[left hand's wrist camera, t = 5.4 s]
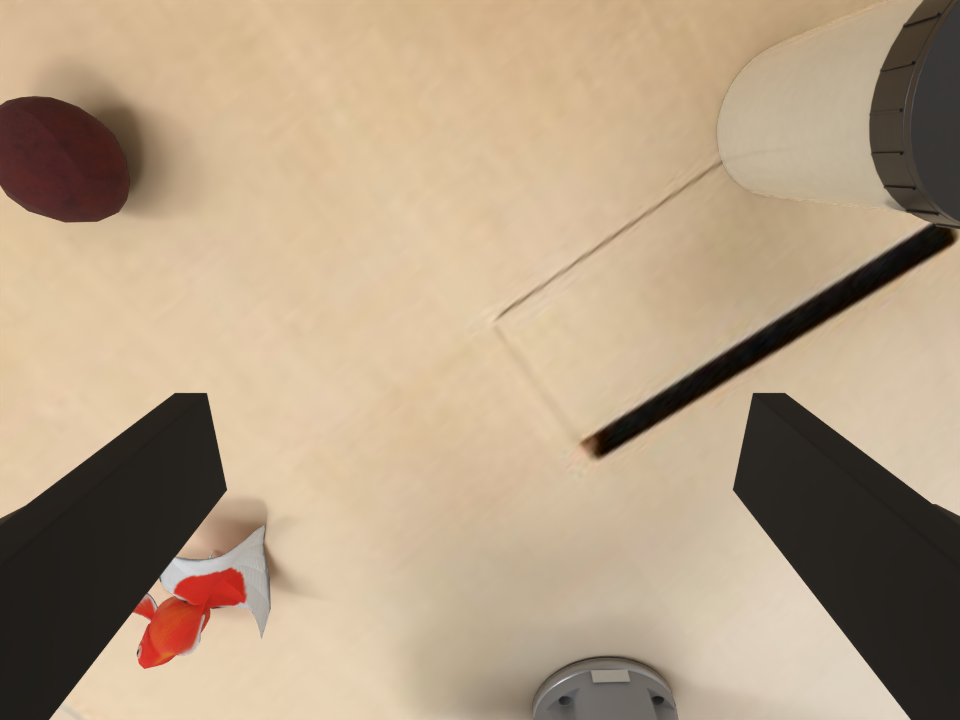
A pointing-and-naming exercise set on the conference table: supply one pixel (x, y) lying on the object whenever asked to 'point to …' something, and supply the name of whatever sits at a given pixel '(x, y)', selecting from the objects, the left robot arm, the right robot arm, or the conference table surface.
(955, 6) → the lid
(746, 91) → the jar
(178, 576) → the fish
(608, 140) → the conference table surface
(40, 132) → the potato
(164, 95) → the conference table surface
